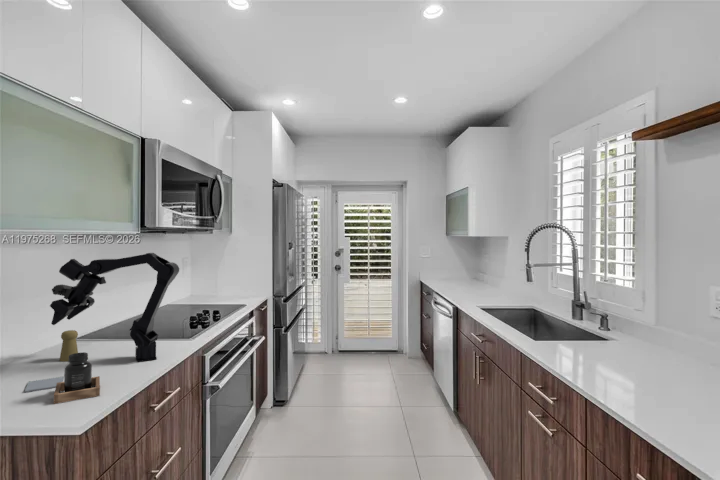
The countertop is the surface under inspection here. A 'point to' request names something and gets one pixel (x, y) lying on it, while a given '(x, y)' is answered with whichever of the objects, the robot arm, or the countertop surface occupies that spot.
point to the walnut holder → (76, 392)
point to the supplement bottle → (78, 373)
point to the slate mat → (43, 384)
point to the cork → (68, 344)
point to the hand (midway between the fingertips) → (60, 321)
